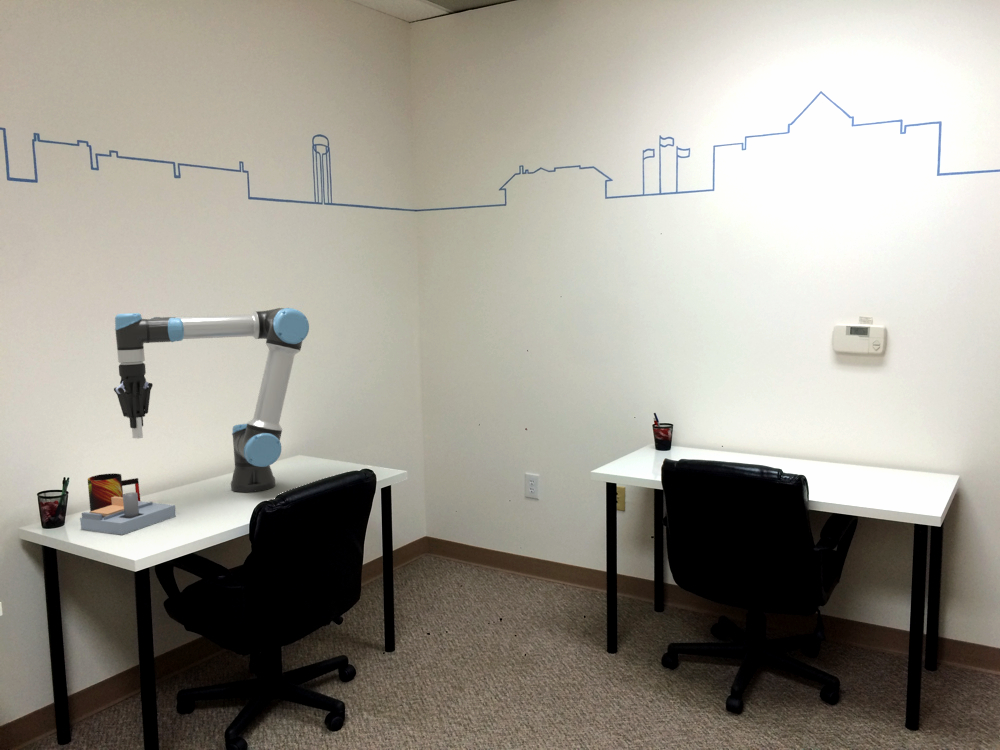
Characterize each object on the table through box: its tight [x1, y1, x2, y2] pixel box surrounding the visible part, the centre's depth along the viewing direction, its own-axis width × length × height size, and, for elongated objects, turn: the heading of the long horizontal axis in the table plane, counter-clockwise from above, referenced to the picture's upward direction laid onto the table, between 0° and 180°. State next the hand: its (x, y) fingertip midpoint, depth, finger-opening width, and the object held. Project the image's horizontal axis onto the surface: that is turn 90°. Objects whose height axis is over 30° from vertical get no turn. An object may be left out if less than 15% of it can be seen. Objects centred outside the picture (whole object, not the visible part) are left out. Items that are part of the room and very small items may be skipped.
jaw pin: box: [123, 491, 139, 519], centre depth 238 cm, size 4×4×10 cm
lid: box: [89, 496, 124, 516], centre depth 241 cm, size 9×7×3 cm
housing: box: [79, 500, 177, 536], centre depth 242 cm, size 20×17×5 cm
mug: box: [87, 473, 141, 512], centre depth 255 cm, size 10×14×12 cm
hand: (137, 437), depth 250 cm, fingers closed
